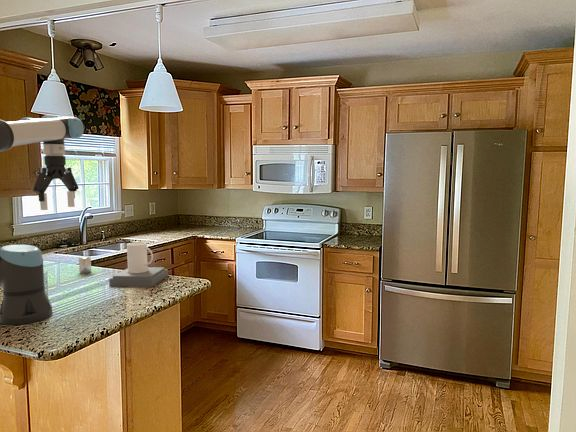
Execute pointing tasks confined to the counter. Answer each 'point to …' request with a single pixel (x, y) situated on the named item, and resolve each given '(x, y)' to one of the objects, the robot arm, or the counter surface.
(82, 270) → the spice tin
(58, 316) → the counter surface
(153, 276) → the podium
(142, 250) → the mug
